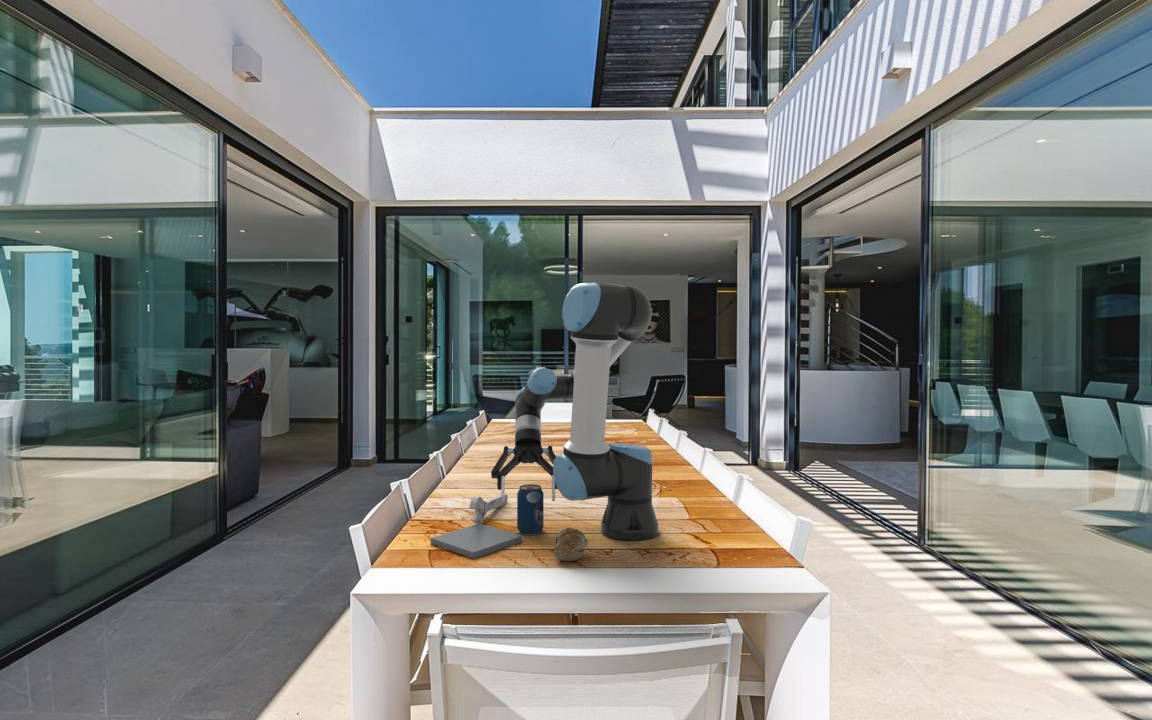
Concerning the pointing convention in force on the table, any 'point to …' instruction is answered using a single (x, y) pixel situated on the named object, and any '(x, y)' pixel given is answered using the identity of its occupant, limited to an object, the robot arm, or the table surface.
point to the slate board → (476, 540)
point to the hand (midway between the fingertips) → (528, 499)
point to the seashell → (570, 544)
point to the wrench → (485, 506)
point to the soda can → (530, 509)
